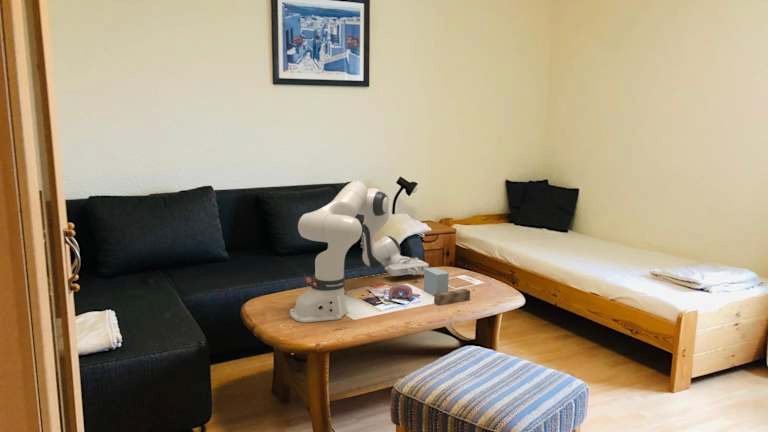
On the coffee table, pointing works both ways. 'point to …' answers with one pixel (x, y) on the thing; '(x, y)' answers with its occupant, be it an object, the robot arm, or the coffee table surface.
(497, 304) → the coffee table surface
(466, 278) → the photo frame
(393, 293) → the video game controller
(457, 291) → the board
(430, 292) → the block
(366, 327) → the coffee table surface
